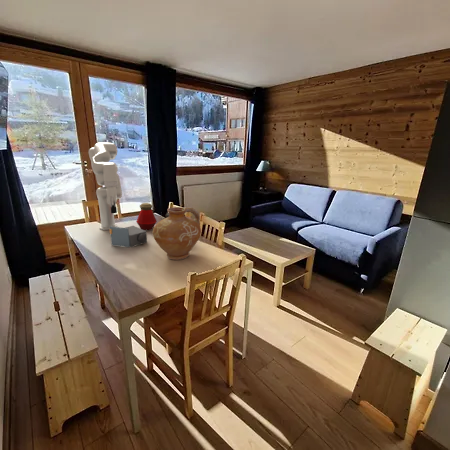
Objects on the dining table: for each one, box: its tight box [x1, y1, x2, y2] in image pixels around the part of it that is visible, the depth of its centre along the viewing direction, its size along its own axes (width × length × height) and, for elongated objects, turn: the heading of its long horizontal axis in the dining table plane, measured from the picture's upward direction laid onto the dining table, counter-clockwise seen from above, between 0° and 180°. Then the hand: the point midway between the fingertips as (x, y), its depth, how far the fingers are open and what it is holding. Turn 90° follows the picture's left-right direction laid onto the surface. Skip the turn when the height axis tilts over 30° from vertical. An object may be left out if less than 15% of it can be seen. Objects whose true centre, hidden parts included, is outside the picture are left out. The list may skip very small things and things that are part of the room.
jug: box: [152, 206, 202, 261], centre depth 148 cm, size 28×28×30 cm
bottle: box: [135, 202, 158, 231], centre depth 193 cm, size 16×14×20 cm
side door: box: [108, 226, 130, 248], centre depth 159 cm, size 12×2×12 cm, turn 80°
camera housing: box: [125, 225, 148, 248], centre depth 169 cm, size 18×12×8 cm, turn 50°
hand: (114, 212), depth 159 cm, fingers closed
